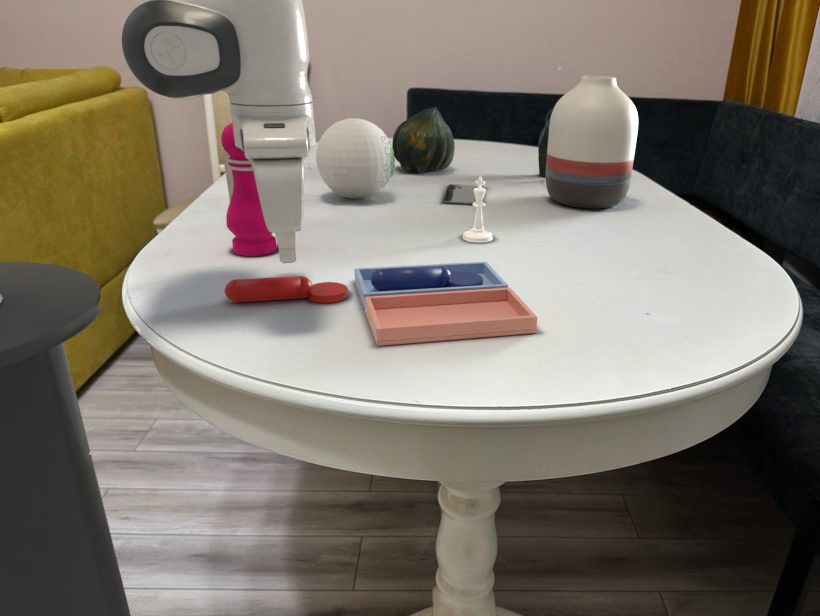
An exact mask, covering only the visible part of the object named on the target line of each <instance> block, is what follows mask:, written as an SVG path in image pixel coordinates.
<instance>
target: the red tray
mask: <svg viewBox="0 0 820 616" xmlns="http://www.w3.org/2000/svg"><path fill="white" fill-rule="evenodd" d="M364 313H365V316H366V318H367V321H368V324H369V326H370V329H371V333H372V336H373V338H374V343H375V344H376V346H377V347H380V346H394V345H406V344H418V343H429V342H430V343H431V342H443V341H452V340H454V341H455V340H466V339H480V338H490V337H503V336H516V335H527V334H528V335H529V334H536V333H537V328H538V327H537V326H538V315H536V313H534V311H533V310H532V309H531V308H530V307H529V306H528V305H527V304H526V303H525V302H524V300H522V299H521V297H520V296H518V294H517V293H516V292H515V291H514V290H513V289H512V288H511V287H508V288H496V289H480V290H464V291H448V292H433V293H417V294H401V295H385V296H370V297H365V310H364Z"/></svg>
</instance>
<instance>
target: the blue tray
mask: <svg viewBox="0 0 820 616" xmlns="http://www.w3.org/2000/svg"><path fill="white" fill-rule="evenodd" d="M426 266H444V267H446V268H447V269H448V270H449V271H450V273H456V272H469V273H474V274H477V275H480V276H481V277H482V278H483V285H480V286H463V287H446V286H445V287H439V288H423V289H407V290H391V291H379V290H377V289H375V288H374V287H373V286H372V284H371V276H372V274H373V273H374V272H375V271H376V270H378V269H388V268H407V267H426ZM353 273H354V285H355V287H356V290H357V293H358V296H359V299H360V301H361V304H362V307H363V310H364V311H365V297H370V296H385V295H401V294H417V293H433V292H448V291H464V290H480V289H496V288H509V284H507V282H506V281H505V280H504V279H503V278H502V277H501V275H499V273H497V271H496V270H494V268H493V267H492V266H491V265H490V263H488V262H487V261H472V262H471V261H470V262H469V261H468V262H452V263H433V264H432V263H431V264H413V265H395V266H375V267H373V266H372V267H359V268H354V272H353Z"/></svg>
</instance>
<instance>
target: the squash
mask: <svg viewBox="0 0 820 616" xmlns="http://www.w3.org/2000/svg"><path fill="white" fill-rule="evenodd" d="M391 144H392V148H393V151H394V158H395V160H396V161H397V162H398V163H399V165H400V166H401V168H402V169H403V170H404V171H406V172H408V173H415V172H418V173H424V172H426V171H427V170H429V171H436V172H437V171H442V170H445V169H447V168H448V167H449V166H450V165H451V164H452V163H453V160H454V156H455V149H456V148H455V139H454V136H453V133H452V130H451V128H450V126H449V125H448V124H447V123H446V121H445V120H444V118H443V116H442V114H441V112H440V111H439V110H438V108H437V107H428V108H425V109H422V110H421V111H419V112H417V113H415V114H414V115H412V116H410V117H409V118H407V119H406V120H404V121H402V122H401V123H400V124H399V125H398V126H397V127H396V129H395V131H394V134H393V136H392V142H391Z"/></svg>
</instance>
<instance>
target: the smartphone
mask: <svg viewBox="0 0 820 616" xmlns="http://www.w3.org/2000/svg"><path fill="white" fill-rule="evenodd" d="M477 187H478V185H477V184H476V185H475V184H473V185H472V184H451V183H450V184H448V186H447V188H446V192H445V194H444V197H443V199H442V203H443V204H462V205H463V204H465V205H472V204H473V203H474V202H476V198H475V194H474V191H473V189H474V188H477ZM482 188H485V185H482Z"/></svg>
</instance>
